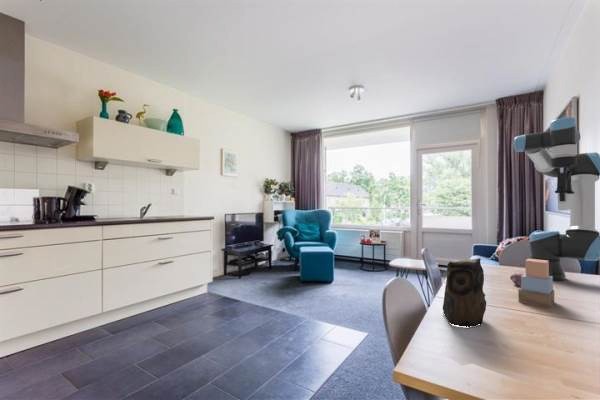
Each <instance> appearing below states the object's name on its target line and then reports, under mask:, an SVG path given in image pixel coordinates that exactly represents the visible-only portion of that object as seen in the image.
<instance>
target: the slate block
mask: <svg viewBox="0 0 600 400" xmlns="http://www.w3.org/2000/svg"><path fill="white" fill-rule="evenodd" d="M523 274H524V275H522V276H521V286H520V288H521V290H527V291H533V292H539V293H544V294H550V293H551V292H552V290H554V283H553V282H554V280H553V277H552V276H549V277H548V278H547V279H540V278H533V277H526V272H525V273H523Z"/></svg>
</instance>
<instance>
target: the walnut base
mask: <svg viewBox="0 0 600 400" xmlns="http://www.w3.org/2000/svg"><path fill="white" fill-rule="evenodd" d="M517 292H518V295H517V296H518V302H519V303H522V304H526V305H532V306H537V307H543V308H547V309H551V308H552V306H553V305H554V304H555V303H556V301H555V290H554V289H553V290H552V292H551V293H550V294H544V293H539V292H533V291H527V290H521V287H520V288H518V289H517Z"/></svg>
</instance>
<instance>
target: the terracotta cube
mask: <svg viewBox="0 0 600 400" xmlns="http://www.w3.org/2000/svg"><path fill="white" fill-rule="evenodd" d="M524 263H525V273H526V277H533V278H540V279H547V278H548V277H549V261H548V260H538V259H530V258H527V259H526V260H525V262H524Z"/></svg>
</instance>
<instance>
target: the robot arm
mask: <svg viewBox="0 0 600 400" xmlns="http://www.w3.org/2000/svg"><path fill="white" fill-rule="evenodd" d="M576 126H577V123H576V119H575V117H573V116H567V117H560V118H556V119H553V120H552V121H551V122H550V126H549V130H546V131H540V132H535V133H528V134H522V135H517V136H515V137H514V139H513V149H514V151H515V152H516V153H522V152H524V153H525V154H526V155H527V156H528V158H529V159H530V160H531V161H532V163H533V165H534V168H535V169H536V171H538V172H539V173H540V174H542V175H544V176H547V177H552V178H556V179H557V180H556V181H557V182H556V190H554V193H555V194H557V206H558V207H557V209H558V211H568V210H570V212H569V215H570V217H569V228H567V229H566V230H565V233H564V234H561V232H560V231H559V230H551V231H548V230H547V231H535V232H531V234H530V235H529V256H530V257H529V259H538V260H548V261H549V276H552V277H553V281H565V280H566V279H567V277H566V273H565V270H564V268H563V266H562V264H561V259H571V260H581V261H586V262H587V261H590V262H591V261H593V262H596V261H600V231H598V230H597V229H596V182H597V181H599V180H600V154H599V152H594V151H593V152H584V153H577V152H578V150H577V144H578V143H579V142H580V140H581V132H580V131H579V130H578V129H577V128H576ZM548 149H550V150H548Z"/></svg>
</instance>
